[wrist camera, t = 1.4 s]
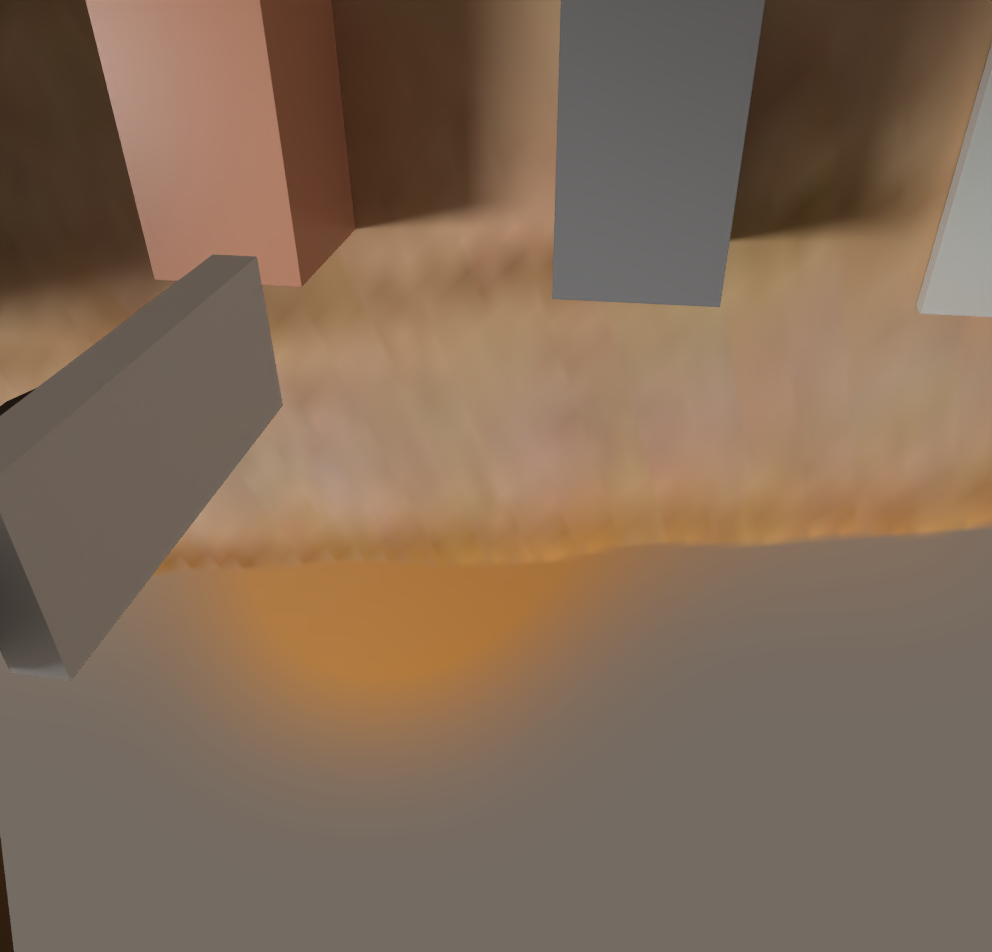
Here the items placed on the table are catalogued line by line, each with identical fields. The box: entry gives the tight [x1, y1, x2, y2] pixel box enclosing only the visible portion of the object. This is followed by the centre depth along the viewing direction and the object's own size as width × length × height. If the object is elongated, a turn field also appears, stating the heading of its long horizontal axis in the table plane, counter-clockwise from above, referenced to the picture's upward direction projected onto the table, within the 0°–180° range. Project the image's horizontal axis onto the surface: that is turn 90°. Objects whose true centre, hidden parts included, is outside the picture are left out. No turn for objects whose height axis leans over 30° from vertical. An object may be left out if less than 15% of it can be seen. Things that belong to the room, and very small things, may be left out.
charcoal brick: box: [552, 0, 765, 307], centre depth 25 cm, size 5×8×6 cm, turn 1°
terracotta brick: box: [86, 0, 355, 287], centre depth 27 cm, size 5×8×6 cm, turn 0°
